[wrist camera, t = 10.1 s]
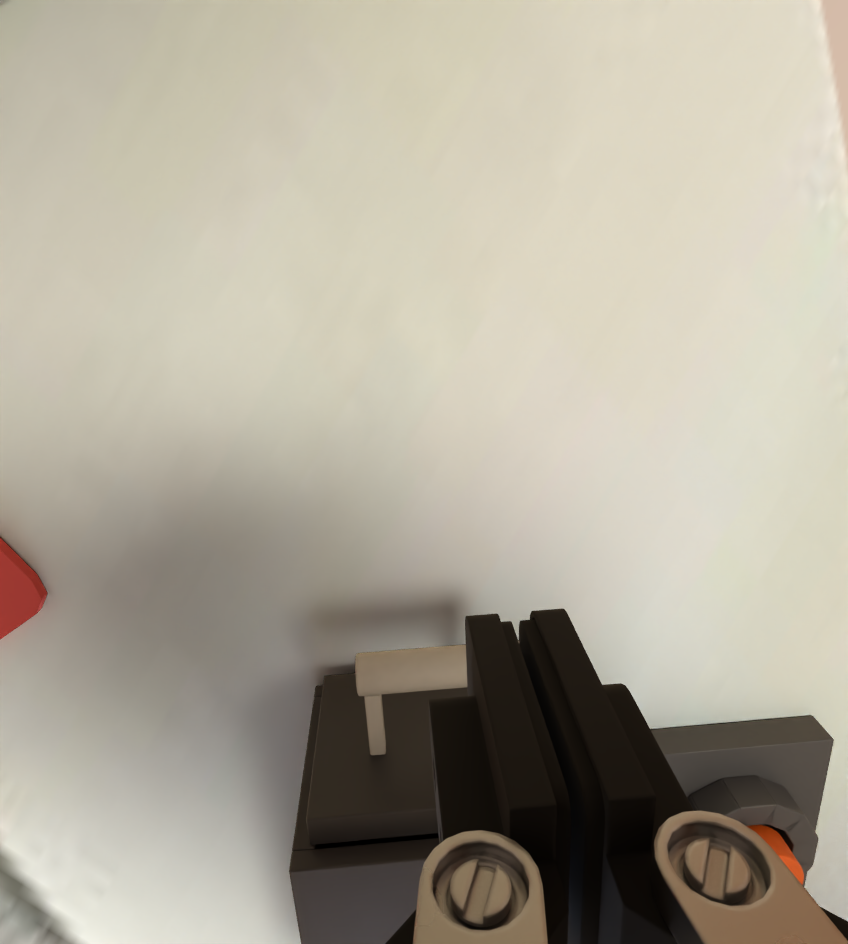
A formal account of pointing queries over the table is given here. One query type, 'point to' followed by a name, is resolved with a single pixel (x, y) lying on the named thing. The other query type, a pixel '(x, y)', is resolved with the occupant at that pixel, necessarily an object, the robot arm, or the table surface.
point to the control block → (755, 774)
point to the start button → (780, 849)
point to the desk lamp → (17, 591)
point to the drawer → (380, 747)
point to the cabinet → (351, 877)
